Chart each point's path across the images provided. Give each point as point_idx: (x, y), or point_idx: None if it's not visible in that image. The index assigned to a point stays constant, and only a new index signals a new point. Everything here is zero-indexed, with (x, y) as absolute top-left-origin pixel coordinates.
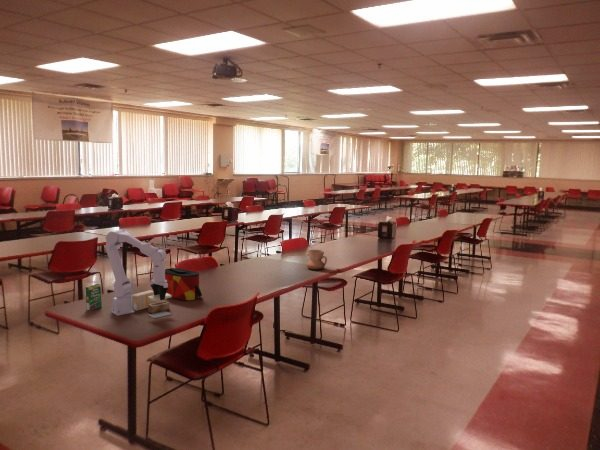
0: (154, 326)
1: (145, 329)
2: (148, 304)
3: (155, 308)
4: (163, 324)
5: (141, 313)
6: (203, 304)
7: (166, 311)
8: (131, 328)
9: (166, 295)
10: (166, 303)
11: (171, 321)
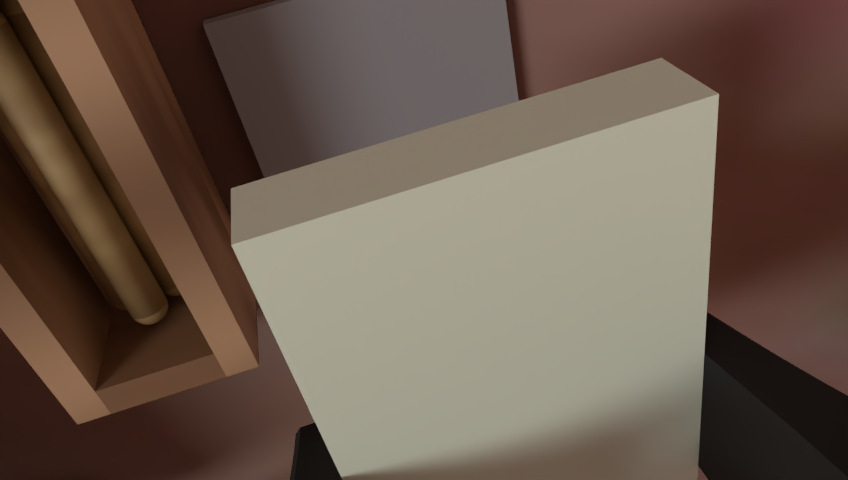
0: (815, 282)
1: (823, 366)
2: (83, 421)
3: (231, 268)
4: (838, 177)
5: (177, 404)
6: None
7: (257, 13)
8: (698, 470)
9: (627, 289)
10: (91, 31)
11: (819, 44)
